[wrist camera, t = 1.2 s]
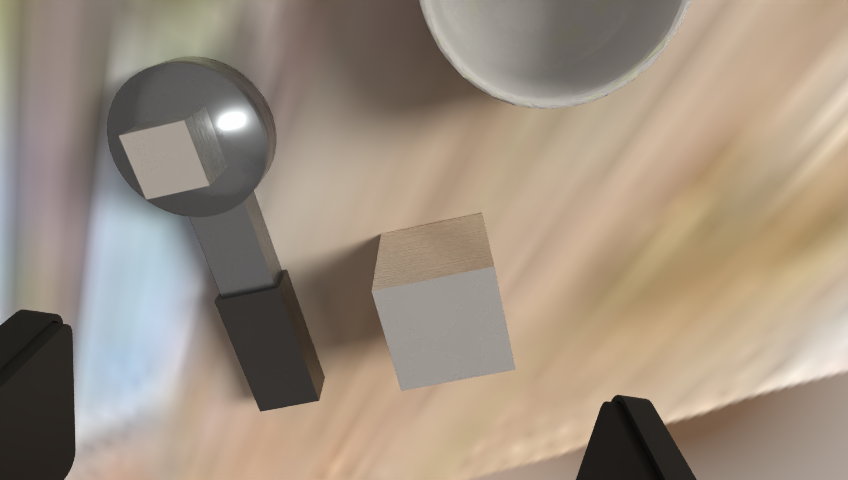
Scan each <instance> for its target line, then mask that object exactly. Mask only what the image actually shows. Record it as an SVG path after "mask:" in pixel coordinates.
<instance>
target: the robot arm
mask: <svg viewBox="0 0 848 480" xmlns="http://www.w3.org/2000/svg"><path fill="white" fill-rule="evenodd" d="M74 457H75V414H74V376H73V337H72V329H71V326H69V325H67V324H63V320H62V318H61V316H59V315H58V314H52V313H45V312H38V311H31V310H20V311H18V312H16V313H15V314H14V315H12V316H11V317H10V318H9V319H8V320H6V321H5V322H4V323H3V324H2V325H0V480H64V479H65V478H66V476H67V475H68V473H69V471H70V469H71V467H72V464H73V461H74ZM576 480H696V478H695V476H694V475H693V473H692V471H691V469H690V468H689V466H688V464H687V462H686V461H685V459H684V457H683V456H682V454H681V452H680V450H679V449H678V447H677V445H676V444H675V442H674V440H673V439H672V437H671V435H670V433H669V432H668V430H667V428H666V427H665V425H664V423H663V421H662V420H661V418H660V416H659V415H658V413H657V411H656V409H655V408H654V406H653V404H652V403H651V402H650V401H649V400H647V399H643V398H636V397H629V396H622V395H616V396H615V397H614V398H613V399H612V401H611V402H607V401H606V402H604V403H603V404H602V406H601V408H600V411H599V414H598V417H597V420H596V423H595V426H594V429H593V432H592V435H591V437H590V440H589V443H588V446H587V449H586V452H585V455H584V458H583V461H582V464H581V467H580V469H579V473H578V476H577V478H576Z"/></svg>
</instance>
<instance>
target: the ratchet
mask: <svg viewBox="0 0 848 480" xmlns="http://www.w3.org/2000/svg"><path fill="white" fill-rule="evenodd" d="M107 135H108V143H109V147H110V151H111V154H112V157H113V159H114V162H115V164H116V166H117V168H118V170H119V171H120V173H121V174H122V176H123V177H124V179H125V180H126V181H127V182H128V184H129V185H130V186H131V187H132V188H133V189H134V190H135V191H136V192H137V193H138V194H139V195H141V196H142V197H143V198H145V199H146V200H147V201H149V202H150V203H152V204H154V205H155V206H157V207H159V208H161V209H163V210H166V211H168V212H171V213H174V214H178V215H183V216H189V217H190V220H191V222H192V225H193V227H194V230H195V232H196V235H197V237H198V240H199V242H200V244H201V247H202V249H203V252H204V254H205V257H206V259H207V262H208V264H209V267H210V269H211V272H212V274H213V276H214V279H215V281H216V284H217V286H218V289H219V291H220V294H219V295H218V297H217V298H216V300H215V303H216V306H217V308H218V310H219V313H220V315H221V318H222V320H223V323H224V325H225V327H226V330H227V332H228V335H229V337H230V339H231V342H232V344H233V347H234V349H235V352H236V354H237V356H238V359H239V361H240V364H241V366H242V369H243V371H244V373H245V376H246V378H247V381H248V383H249V386H250V388H251V390H252V393H253V395H254V398H255V400H256V402H257V405H258V407H259V410H260V412H261V411H266V410H272V409H277V408H282V407H288V406H293V405H298V404H304V403H309V402H314V401H319V399H320V395H321V391H322V387H323V382H324V378H325V377H324V374H323V371H322V368H321V365H320V362H319V360H318V357H317V354H316V351H315V348H314V345H313V343H312V340H311V337H310V334H309V331H308V328H307V326H306V323H305V320H304V317H303V314H302V311H301V309H300V306H299V303H298V300H297V297H296V294H295V291H294V289H293V286H292V283H291V280H290V277H289V274H288V272H287V270H282V269H281V266H280V264H279V261H278V258H277V255H276V252H275V249H274V247H273V244H272V241H271V238H270V235H269V233H268V230H267V227H266V224H265V221H264V219H263V216H262V213H261V210H260V207H259V204H258V202H257V199H256V196H255V193H254V189H255V188H256V187H257V186H258V184H259V183H260V182H261V180H262V179H263V178H264V176H265V175H266V173H267V172H268V170H269V168H270V166H271V164H272V161H273V158H274V154H275V149H276V129H275V124H274V120H273V116H272V113H271V111H270V108H269V106H268V104H267V102H266V101H265V99H264V97H263V96H262V94H261V93H260V92H259V90H258V89H257V88H256V87H255V86H254V84H253V83H252V82H251V81H250V80H248V79H247V78H246V77H245V76H244V75H243V74H241V73H240V72H238V71H237V70H235V69H234V68H232V67H230V66H228V65H226V64H224V63H221V62H219V61H216V60H212V59H208V58H202V57H182V58H176V59H172V60H169V61H166V62H164V63H161V64H158V65H156V66H153V67H150V68H148V69H145V70H143V71H141V72H139V73H137V74H136V75H135V76H133V77H132V78H130V79H129V80H128V81H127V82H126V83H125V84H124V85H123V86H122V87H121V89H120V90H119V92H118V93H117V94H116V96H115V98H114V100H113V102H112V105H111V108H110V111H109V116H108V122H107Z"/></svg>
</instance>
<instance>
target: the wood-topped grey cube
mask: <svg viewBox="0 0 848 480" xmlns="http://www.w3.org/2000/svg"><path fill="white" fill-rule="evenodd" d="M372 294H373V298H374V301H375V304H376V308H377V311H378V315H379V318H380V321H381V325H382V328H383V331H384V335H385V338H386V341H387V345H388V348H389V351H390V355H391V358H392V362H393V365H394V368H395V372H396V375H397V378H398V382H399V385H400V388H401V391H403V390H408V389H414V388H419V387H424V386H430V385H435V384H440V383H446V382H451V381H456V380H462V379H467V378H472V377H478V376H483V375H488V374H494V373H499V372H504V371H510V370H515V365H514V360H513V355H512V350H511V345H510V340H509V336H508V331H507V326H506V321H505V316H504V311H503V306H502V301H501V297H500V292H499V287H498V282H497V277H496V272H495V267H494V263H493V259H492V254H491V250H490V245H489V241H488V237H487V232H486V228H485V223H484V219H483V215H482V213H479V214H474V215H469V216H464V217H460V218H455V219H450V220H446V221H441V222H436V223H431V224H427V225H422V226H417V227H412V228H408V229H403V230H398V231H394V232H389V233H384V234H381V237H380V243H379V249H378V255H377V261H376V267H375V274H374V280H373V286H372Z"/></svg>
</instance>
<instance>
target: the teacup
mask: <svg viewBox="0 0 848 480" xmlns="http://www.w3.org/2000/svg"><path fill="white" fill-rule="evenodd" d="M690 2H691V0H419V4H420V7H421V11H422V14H423V16H424V19H425V22H426V25H427V27H428V30H429V32H430V33H431V35H432V36H433V39H434V41H435V42H436V44H437V46H438V48H439V49H440V51H441V52H442V53H443V55H444V56H445V57H446V59H447V60H448V61H449V63H450V64H451V65H452V66H453V67H454V68H455V69H456V70H457V72H458V73H459V74H460V75H461V76H462V77H463V78H465V79H466V80H467V81H469V82H470V83H471V84H473V85H474V86H476V87H477V88H478V89H480V90H482V91H483V92H485V93H487V94H488V95H490V96H492V97H494V98H496V99H498V100H501V101H504V102H507V103H510V104H512V105H518V106H524V107H530V108H540V109H545V108H551V109H554V108H559V107H571V106H576V105H580V104H584V103H587V102H590V101H594V100H596V99H599V98H601V97H604V96H607V95H608V94H610V93H612V92H613V91H615V90H617V89H620V88H621V87H623V86H624V85H626V84H627V83H629V82H631V81H632V80H634V78H635V77H636V76H638V75H639V74H640V73H642V72H643V71H644V70H645V69H646V68H647V67H648V66H650V65H651V64H652V63H653V62H654V61H655V60H656V59H657V58H658V56H659V54H660V53H661V52H662V51H663V50H664V49H665V48H666V47H667V44H668V42H669V40H670V39H671V38H672V37H673V36H674V33H675V32H676V30H677V29H678V28H679V26H680V25H681V23H682V20H683V17H684V16H685V14H686V12H687V10H688V8H689V5H690Z"/></svg>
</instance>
